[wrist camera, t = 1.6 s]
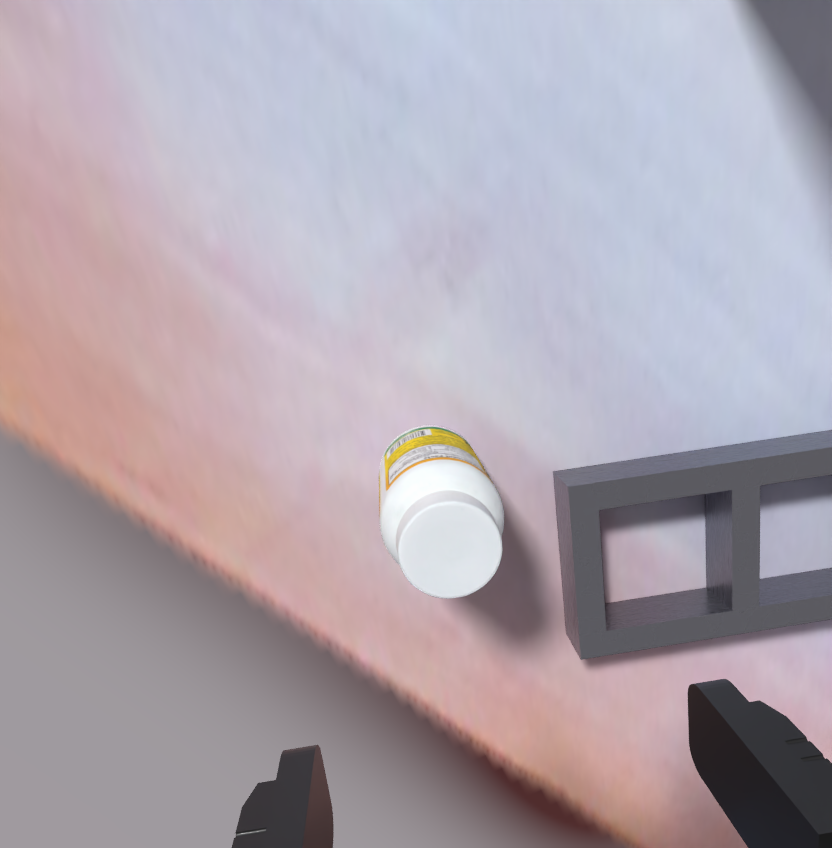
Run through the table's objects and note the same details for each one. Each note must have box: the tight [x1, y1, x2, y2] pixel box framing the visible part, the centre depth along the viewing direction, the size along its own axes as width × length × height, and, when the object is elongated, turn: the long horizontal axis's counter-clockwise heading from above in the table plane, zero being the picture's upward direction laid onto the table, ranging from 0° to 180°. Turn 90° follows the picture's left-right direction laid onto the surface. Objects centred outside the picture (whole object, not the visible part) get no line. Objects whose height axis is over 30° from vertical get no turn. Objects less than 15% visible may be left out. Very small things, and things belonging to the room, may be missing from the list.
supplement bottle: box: [379, 425, 504, 599], centre depth 26 cm, size 5×5×10 cm
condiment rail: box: [553, 430, 832, 660], centre depth 32 cm, size 10×18×2 cm, turn 98°
